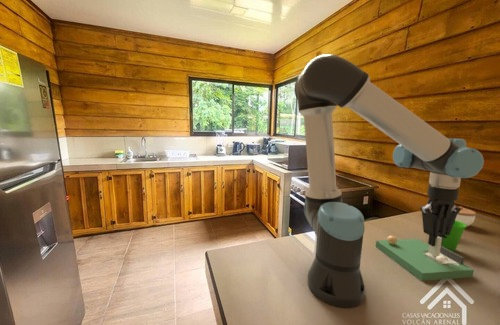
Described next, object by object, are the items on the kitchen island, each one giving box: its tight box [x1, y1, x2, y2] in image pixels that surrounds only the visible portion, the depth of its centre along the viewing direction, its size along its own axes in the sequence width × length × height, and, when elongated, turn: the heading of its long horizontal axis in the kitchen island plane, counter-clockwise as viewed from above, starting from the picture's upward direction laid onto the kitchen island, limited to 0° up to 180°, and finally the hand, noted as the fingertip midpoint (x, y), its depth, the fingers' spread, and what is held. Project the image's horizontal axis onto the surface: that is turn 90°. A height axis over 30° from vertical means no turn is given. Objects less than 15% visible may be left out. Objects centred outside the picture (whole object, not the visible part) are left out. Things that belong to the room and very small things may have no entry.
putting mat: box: [375, 238, 475, 282], centre depth 77 cm, size 19×20×5 cm
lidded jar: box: [455, 206, 477, 227], centre depth 108 cm, size 11×11×9 cm
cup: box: [441, 220, 468, 253], centre depth 84 cm, size 9×9×11 cm
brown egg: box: [386, 235, 398, 245], centre depth 83 cm, size 3×3×3 cm
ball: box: [436, 255, 448, 262], centre depth 74 cm, size 3×3×3 cm
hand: (433, 254), depth 74 cm, fingers closed
